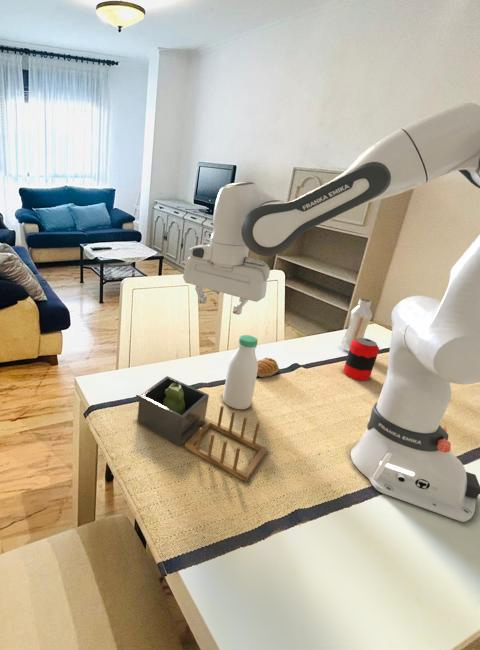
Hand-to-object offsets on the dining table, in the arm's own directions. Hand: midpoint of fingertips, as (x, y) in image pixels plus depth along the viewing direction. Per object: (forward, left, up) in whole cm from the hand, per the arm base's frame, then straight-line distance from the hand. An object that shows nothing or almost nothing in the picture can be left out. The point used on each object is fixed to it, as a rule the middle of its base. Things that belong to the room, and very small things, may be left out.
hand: (218, 308), depth 95 cm
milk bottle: (-6, -8, -29) cm, 31 cm away
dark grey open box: (+3, +12, -29) cm, 32 cm away
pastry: (-6, -30, -29) cm, 42 cm away
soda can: (-29, -50, -29) cm, 65 cm away
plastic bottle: (-24, -68, -29) cm, 78 cm away
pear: (+3, +12, -28) cm, 31 cm away
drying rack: (-12, +12, -29) cm, 34 cm away
